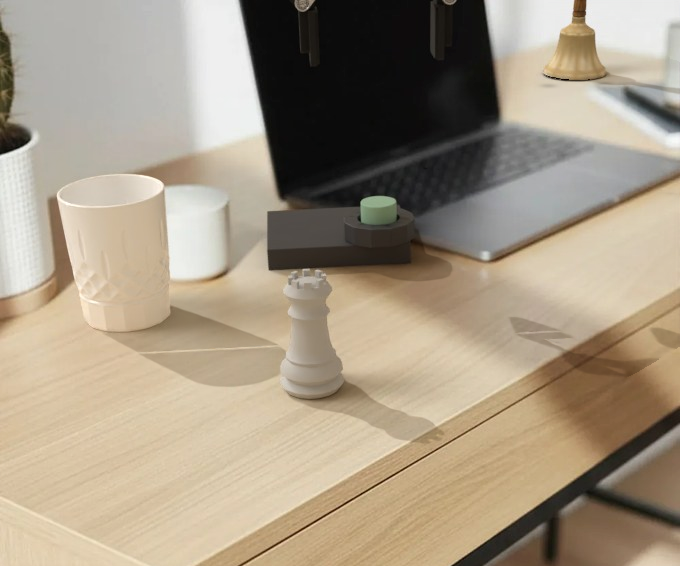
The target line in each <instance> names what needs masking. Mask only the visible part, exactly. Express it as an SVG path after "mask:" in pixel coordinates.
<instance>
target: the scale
mask: <svg viewBox="0 0 680 566" xmlns="http://www.w3.org/2000/svg"><path fill="white" fill-rule="evenodd" d="M396 206H397V221H396V222H394V223H390V224H386V225H371V224H364V223H362V222H361V206H345V207H325V208H306V209H305V208H304V209H303V208H302V209H286V210H268V211H267V212H266V243H267V244H266V253H267V255H266V256H267V268H268V271H288V270H302V269H324V268H326V269H327V268H342V267H344V268H345V267H346V268H347V267H366V266H386V265H403V264H405V265H406V264H411V263H412V262H411V261H412V250H411V249H412V243H411V241H412V240H413V239H415V236H416V232H415V231H416V230H415V227H416V226H415V225H416V224H415V223H416V222H415V215H414V214H413V213H412V212H411V211H409V210H406V209H405V208H401V205H400V204H396Z"/></svg>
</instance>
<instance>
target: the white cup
mask: <svg viewBox="0 0 680 566" xmlns="http://www.w3.org/2000/svg"><path fill="white" fill-rule="evenodd" d="M56 199H57V204H58V210H59V214H60V219H61V224H62V228H63V233H64V238H65V244H66V249H67V252H68V253H67V254H68V257H69V261H70V265H71V269H72V274H73V278H74V283H75V285H76V288H77V290H78V292H79V293H78V296H79V300H80V305H81V310H82V316H83V320H84V322H85V323H86V324H87V325H89V326H90V327H91V328H92V329H96V330H98V331H103V332H108V333H129V332H136V331H142V330H147V329H149V328H152V327H154V326H157V325H159V324H162V323H163V322H164V321H165V320H166V319H168V317H170V316H171V296H170V295H171V294H170V281H171V271H170V248H169V247H170V245H169V234H168V233H169V232H168V216H167V204H166V203H167V202H166V187H165V183H164V182H162V181H161V180H160V179H158V178H156V177H152V176H149V175H143V174H135V173H116V174H115V173H112V174H103V175H96V176H90V177H85V178H82V179H79V180H75V181H73V182H70V183H68V184H66V185H64V186H63V187H61V188H60V189H58V191H57V193H56Z"/></svg>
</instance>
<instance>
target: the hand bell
mask: <svg viewBox="0 0 680 566" xmlns="http://www.w3.org/2000/svg"><path fill="white" fill-rule="evenodd" d="M587 2H588V1H587V0H574V1H573V8H572V10H573V11H572V14H571V15H572V17H571V22H570V23H569V24H568V25H567V26H564V27H563V28H561V29H560V31H559V37H558V42H557V46H556V49H555V51H554V54H553V56H552V58H551V59H550V61H549V62H548V63H547V64H546V65H545V66H544V67H543V69H542V71H543V72H544V73H545V74H547V75H549V76H552V77H557V78H561V79H569V80H568V81H590V80H597V79H600V78H603V77H605V76H606V75H607V69H606V67H605V65H603V64H602V62H601V60H600V58H599V55H598V52H597V45H596V31H595V29H594V28H592V27H590V26H589V25H588V24H587V23H586V16H587ZM561 79H560V80H561ZM588 79H590V80H588Z"/></svg>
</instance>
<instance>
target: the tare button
mask: <svg viewBox="0 0 680 566" xmlns="http://www.w3.org/2000/svg"><path fill="white" fill-rule="evenodd" d="M396 205H397V199H396V198H394V197H391V196H385V195H375V196H374V195H373V196H368V197H365V198H363V199H361V201H360V207H361V222H362V223H364V224H371V225H386V224H390V223H394V222H396V221H397V206H396Z"/></svg>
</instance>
